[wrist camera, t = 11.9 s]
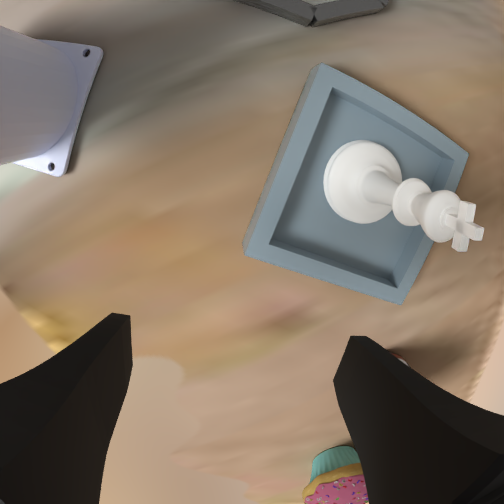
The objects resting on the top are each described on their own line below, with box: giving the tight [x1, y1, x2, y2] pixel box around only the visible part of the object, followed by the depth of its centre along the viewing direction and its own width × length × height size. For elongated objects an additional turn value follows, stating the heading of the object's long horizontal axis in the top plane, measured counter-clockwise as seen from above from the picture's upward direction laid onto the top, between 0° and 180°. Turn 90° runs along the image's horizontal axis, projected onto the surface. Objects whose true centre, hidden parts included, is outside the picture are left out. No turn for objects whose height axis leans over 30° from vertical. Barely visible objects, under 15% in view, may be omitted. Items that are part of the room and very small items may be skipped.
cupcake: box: [302, 446, 369, 504], centre depth 23 cm, size 9×8×12 cm
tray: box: [242, 63, 469, 305], centre depth 18 cm, size 11×11×2 cm
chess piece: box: [323, 140, 484, 252], centre depth 13 cm, size 5×5×10 cm
